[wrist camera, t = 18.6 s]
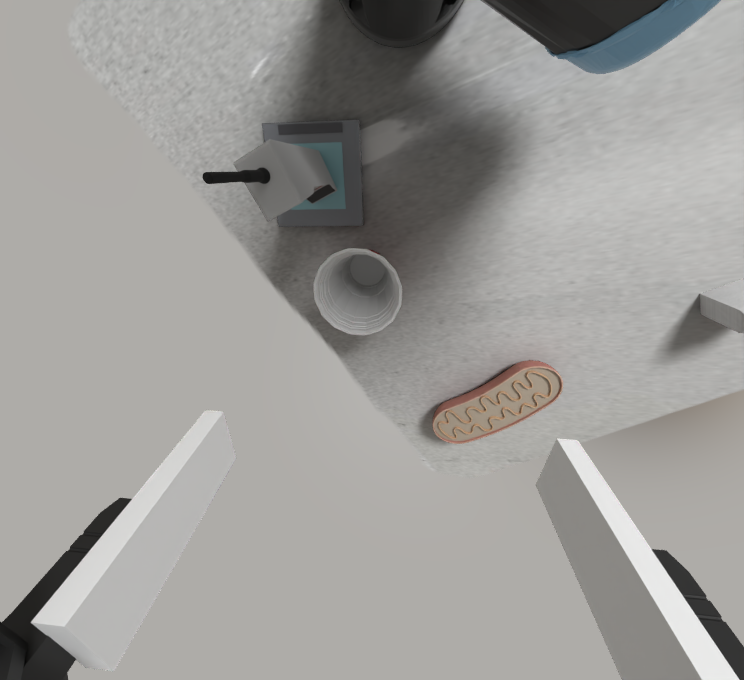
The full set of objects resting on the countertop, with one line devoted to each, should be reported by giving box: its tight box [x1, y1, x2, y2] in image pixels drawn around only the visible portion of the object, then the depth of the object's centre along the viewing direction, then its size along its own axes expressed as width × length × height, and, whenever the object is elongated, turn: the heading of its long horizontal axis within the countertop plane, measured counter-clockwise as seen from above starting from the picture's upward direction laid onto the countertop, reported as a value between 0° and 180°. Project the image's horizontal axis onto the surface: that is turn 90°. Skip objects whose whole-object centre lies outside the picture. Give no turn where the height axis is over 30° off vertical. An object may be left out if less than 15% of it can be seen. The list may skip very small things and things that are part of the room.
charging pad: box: [262, 120, 363, 227], centre depth 40 cm, size 12×12×1 cm
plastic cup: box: [313, 248, 402, 336], centre depth 41 cm, size 11×11×12 cm
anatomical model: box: [433, 360, 563, 444], centre depth 53 cm, size 23×10×5 cm, turn 130°
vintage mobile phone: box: [203, 139, 337, 221], centre depth 28 cm, size 4×5×25 cm
